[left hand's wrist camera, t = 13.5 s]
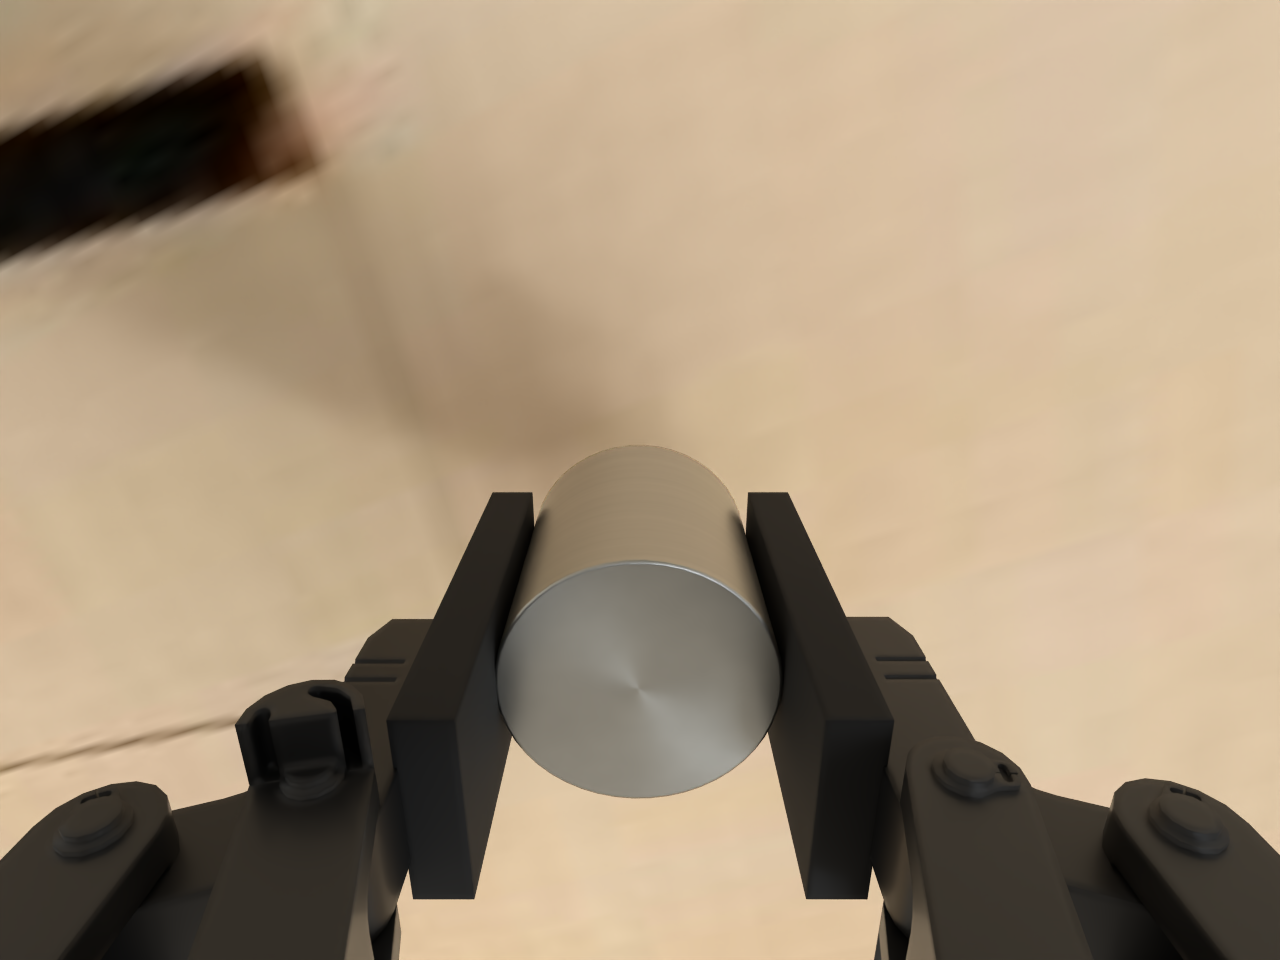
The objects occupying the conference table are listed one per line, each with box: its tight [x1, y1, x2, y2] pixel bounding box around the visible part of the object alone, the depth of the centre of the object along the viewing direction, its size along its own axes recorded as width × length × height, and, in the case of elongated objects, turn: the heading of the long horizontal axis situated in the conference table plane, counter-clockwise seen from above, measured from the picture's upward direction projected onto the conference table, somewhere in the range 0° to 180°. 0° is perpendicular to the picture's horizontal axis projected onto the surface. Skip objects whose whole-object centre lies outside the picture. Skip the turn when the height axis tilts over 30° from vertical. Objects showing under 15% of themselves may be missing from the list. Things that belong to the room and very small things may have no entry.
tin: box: [495, 445, 783, 798], centre depth 13 cm, size 4×4×5 cm
